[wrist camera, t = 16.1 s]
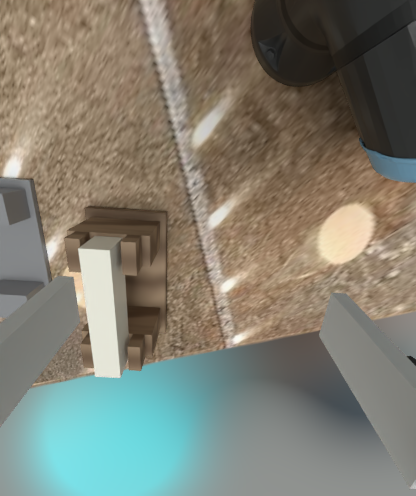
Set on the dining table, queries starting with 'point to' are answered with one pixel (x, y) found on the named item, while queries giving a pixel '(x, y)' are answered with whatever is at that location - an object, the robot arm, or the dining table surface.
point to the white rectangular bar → (105, 304)
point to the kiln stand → (20, 245)
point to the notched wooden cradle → (130, 272)
